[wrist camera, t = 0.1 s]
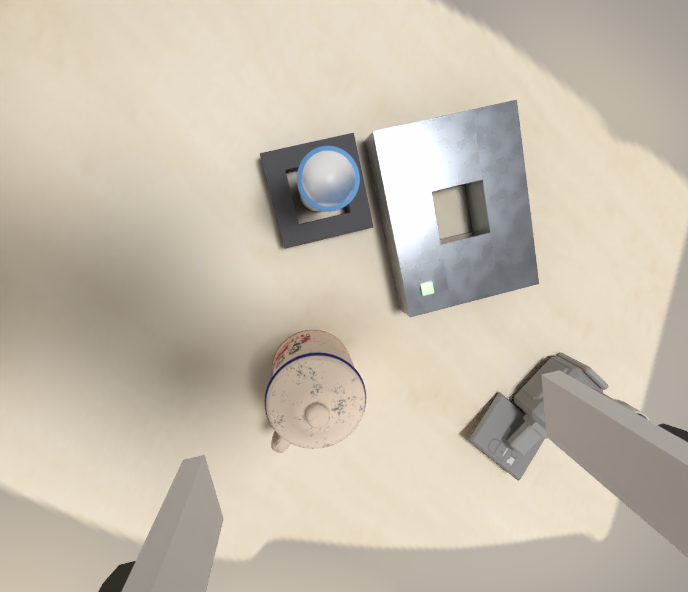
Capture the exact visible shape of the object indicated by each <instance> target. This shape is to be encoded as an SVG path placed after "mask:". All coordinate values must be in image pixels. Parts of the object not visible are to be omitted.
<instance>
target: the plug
mask: <svg viewBox="0 0 688 592" xmlns="http://www.w3.org/2000/svg"><path fill="white" fill-rule="evenodd" d="M359 183H360V175H359V170H358V167H357V164H356V163H355V161H354V159H353V158H352V157H351V156H350V155H349V154H348V153H347V152H346V151H344V150H342V149H340V148H338V147H334V146H321V147H318V148H316V149H313V150H312V151H310V152H309V153H308V154H307V155H306V156H305V157H304V158H303V160H302V161H301V163H300V166H299V169H298V173H297V185H298V189H299V195H300V199H301V202H302V203H303V205H304V206H305V207H306V208H308V209H309V210H312V211H326V212H328V211H335V210H338V209H341V208H343V207H345V206H346V205H348V204H349V203H350V202H351V201H352V200H353V198H354V197H355V195H356V193H357V191H358V188H359Z"/></svg>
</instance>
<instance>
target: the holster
mask: <svg viewBox="0 0 688 592" xmlns="http://www.w3.org/2000/svg"><path fill="white" fill-rule="evenodd" d="M321 146H334V147H338V148H340V149H342V150H344V151H346V152H347V153H348V154H349V155H350V156H351V157H352V158H353V159H354V161H355V163H356V164H357V167H358V170H359V175H360V183H359V188H358V191H357V193H356V195H355V197H354V198H353V200H352V201H351V202H350V203H349V204H348V205H346V209H347V213H346V214H341V215H337V216H333V217H329V218H324V219H320V220H316V221H312V222H307V223H303V224H298V220H297V216H296V212H295V208H294V204H293V200H292V196H291V192H290V188H289V184H288V180H287V176H286V173H289V172H293V171H297V170H298V169H299V166H300V163H301V161H302V160H303V158H304V157H305V156H306V155H307V154H308V153H309V152H310V151H312V150H313V149H316V148H318V147H321ZM260 156H261V160H262V164H263V168H264V172H265V176H266V179H267V183H268V187H269V191H270V195H271V198H272V202H273V206H274V210H275V214H276V218H277V221H278V225H279V229H280V233H281V237H282V241H283V244H284V248H289V247H293V246H297V245H302V244H306V243H310V242H314V241H318V240H323V239H327V238H331V237H335V236H339V235H343V234H348V233H352V232H356V231H360V230H364V229H368V228H373V223H372V218H371V213H370V209H369V204H368V199H367V194H366V189H365V185H364V180H363V175H362V170H361V166H360V161H359V156H358V151H357V146H356V142H355V137H354V133H351V134H346V135H342V136H337V137H332V138H328V139H323V140H319V141H314V142H310V143H305V144H300V145H296V146H291V147H287V148H282V149H278V150H273V151H269V152H264V153H260Z"/></svg>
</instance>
